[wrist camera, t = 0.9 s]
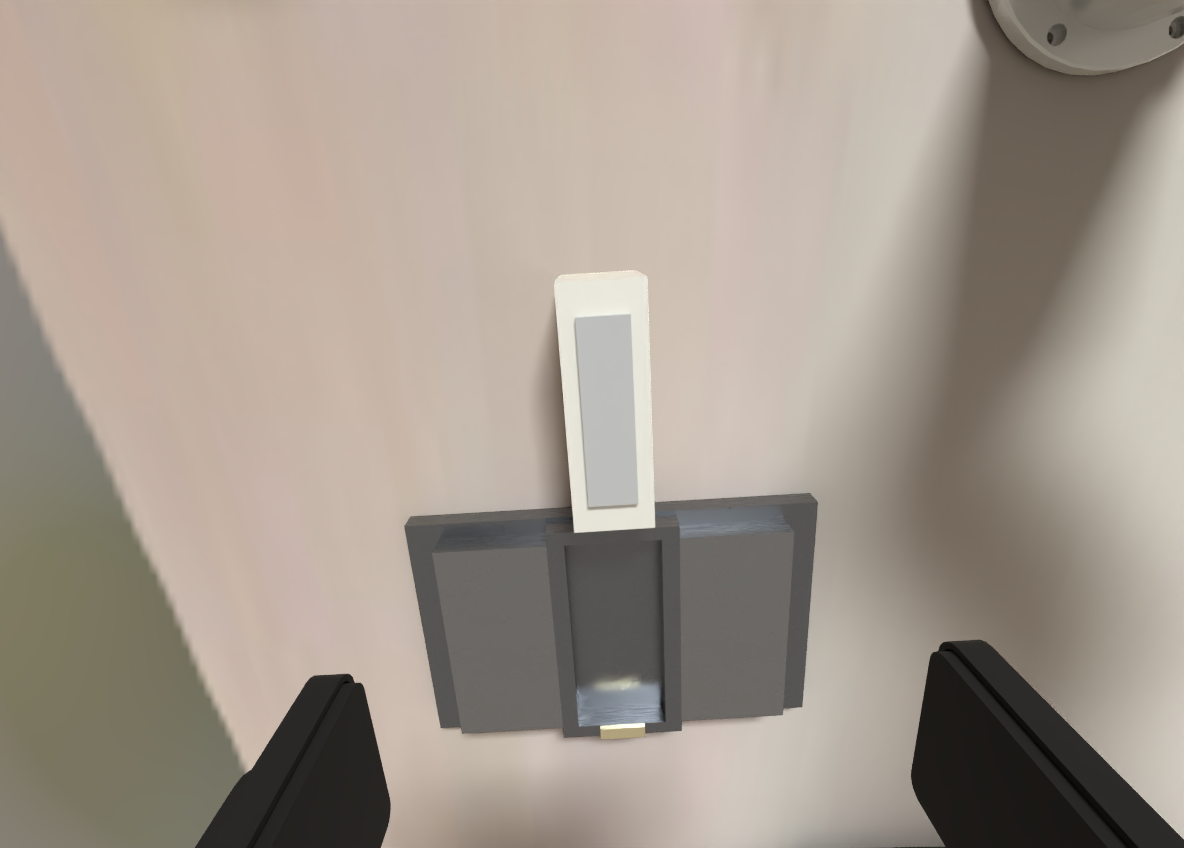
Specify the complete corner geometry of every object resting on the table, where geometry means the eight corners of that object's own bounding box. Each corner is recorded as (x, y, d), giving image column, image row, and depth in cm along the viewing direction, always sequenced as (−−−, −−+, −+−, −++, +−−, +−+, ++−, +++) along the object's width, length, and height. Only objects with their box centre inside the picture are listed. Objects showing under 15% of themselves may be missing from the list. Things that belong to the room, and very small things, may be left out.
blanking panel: (634, 269, 29) (648, 277, 23) (642, 478, 33) (656, 530, 27) (559, 274, 29) (553, 283, 23) (575, 482, 33) (574, 535, 27)
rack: (809, 493, 33) (830, 516, 31) (795, 693, 38) (812, 729, 35) (410, 516, 34) (394, 542, 31) (445, 713, 38) (433, 751, 35)
